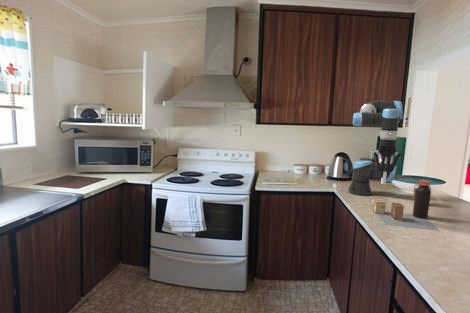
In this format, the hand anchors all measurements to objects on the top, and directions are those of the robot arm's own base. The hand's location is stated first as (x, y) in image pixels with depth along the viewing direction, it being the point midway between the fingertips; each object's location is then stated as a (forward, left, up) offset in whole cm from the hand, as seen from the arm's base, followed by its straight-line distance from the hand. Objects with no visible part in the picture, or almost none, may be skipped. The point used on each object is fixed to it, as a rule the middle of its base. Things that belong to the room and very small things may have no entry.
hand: (383, 183), depth 144 cm
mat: (0, +12, -19) cm, 22 cm away
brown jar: (-36, +32, -19) cm, 52 cm away
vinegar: (-8, +22, -19) cm, 30 cm away
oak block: (-8, +1, -18) cm, 20 cm away
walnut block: (0, +8, -18) cm, 20 cm away
